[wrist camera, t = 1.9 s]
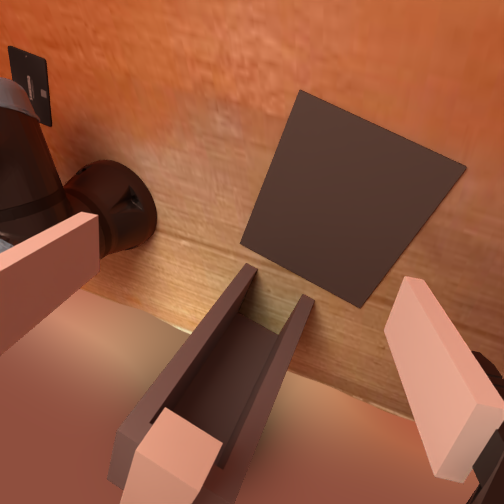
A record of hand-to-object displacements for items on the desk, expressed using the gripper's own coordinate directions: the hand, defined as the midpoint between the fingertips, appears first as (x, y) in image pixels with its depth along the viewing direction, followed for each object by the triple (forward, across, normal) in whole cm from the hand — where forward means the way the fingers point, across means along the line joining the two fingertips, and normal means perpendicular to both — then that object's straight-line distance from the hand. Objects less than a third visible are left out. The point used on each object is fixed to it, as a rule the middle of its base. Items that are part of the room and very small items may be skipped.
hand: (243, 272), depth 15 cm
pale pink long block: (+7, -4, -25) cm, 26 cm away
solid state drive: (+43, -40, +2) cm, 59 cm away
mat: (+32, +8, -6) cm, 33 cm away
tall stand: (+36, +2, -25) cm, 44 cm away
